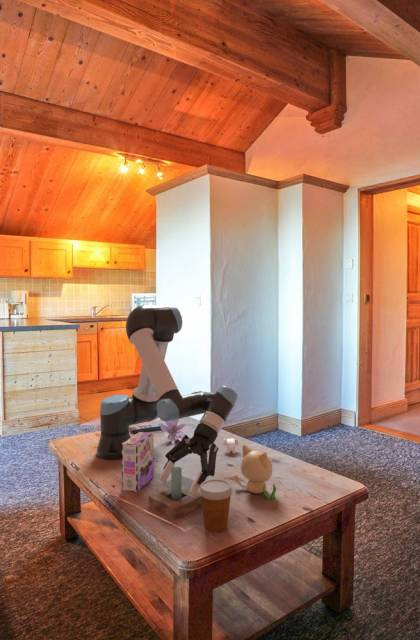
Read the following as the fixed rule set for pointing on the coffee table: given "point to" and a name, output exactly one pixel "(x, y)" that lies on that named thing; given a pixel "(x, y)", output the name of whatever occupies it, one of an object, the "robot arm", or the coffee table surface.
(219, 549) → the coffee table surface
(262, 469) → the kitten
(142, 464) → the candy box
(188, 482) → the mat
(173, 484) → the peg
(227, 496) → the disposable coffee cup
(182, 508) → the hole block
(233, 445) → the elephant figurine
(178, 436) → the water lily
